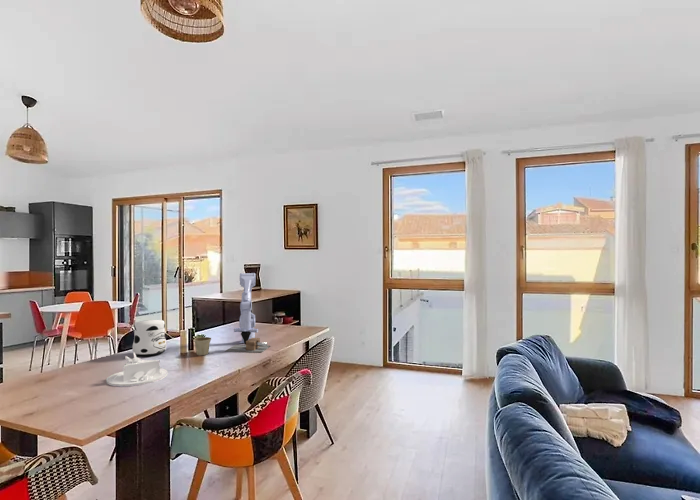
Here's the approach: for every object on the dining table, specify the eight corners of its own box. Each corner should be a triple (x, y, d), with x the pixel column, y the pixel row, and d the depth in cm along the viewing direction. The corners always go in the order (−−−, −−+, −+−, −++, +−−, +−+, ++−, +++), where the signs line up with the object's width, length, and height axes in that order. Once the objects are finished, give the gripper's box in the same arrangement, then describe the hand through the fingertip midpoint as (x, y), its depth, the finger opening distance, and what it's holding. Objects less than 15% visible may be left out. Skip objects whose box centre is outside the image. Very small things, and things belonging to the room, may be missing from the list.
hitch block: (235, 345, 251) (235, 336, 251) (270, 346, 249) (270, 337, 249) (224, 351, 235) (224, 341, 235) (261, 352, 233) (261, 342, 233)
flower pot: (207, 356, 225) (207, 340, 225) (190, 356, 225) (190, 340, 225) (213, 352, 234) (213, 337, 234) (197, 352, 234) (197, 337, 235)
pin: (248, 346, 244) (248, 339, 244) (267, 347, 243) (267, 340, 243) (246, 348, 240) (246, 341, 240) (265, 348, 239) (265, 341, 239)
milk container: (165, 356, 226) (165, 323, 226) (130, 359, 219) (130, 325, 219) (167, 349, 242) (167, 318, 242) (134, 351, 235) (134, 320, 235)
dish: (98, 389, 172) (98, 362, 172) (116, 372, 196) (116, 349, 196) (161, 384, 178) (161, 358, 178) (171, 368, 202) (171, 345, 202)
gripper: (231, 322, 239) (231, 345, 239) (255, 322, 237) (255, 346, 237) (236, 320, 246) (236, 342, 246) (259, 320, 244) (259, 343, 244)
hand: (246, 344), depth 242 cm, fingers closed
